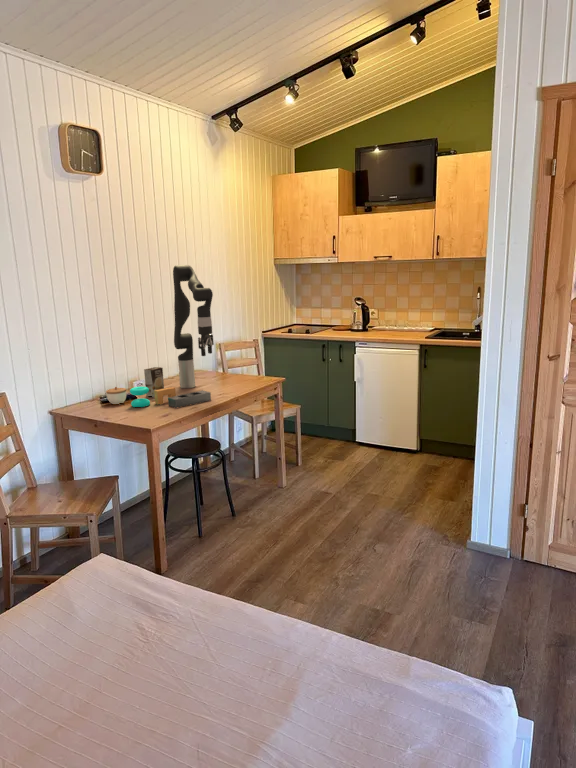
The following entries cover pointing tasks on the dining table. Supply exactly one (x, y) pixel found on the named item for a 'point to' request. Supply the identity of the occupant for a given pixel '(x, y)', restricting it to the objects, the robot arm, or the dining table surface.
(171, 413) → the dining table surface
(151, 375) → the coffee box
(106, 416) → the dining table surface
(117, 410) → the dining table surface
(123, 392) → the lidded jar
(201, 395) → the grey slotted block
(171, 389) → the long orange brick
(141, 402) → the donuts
